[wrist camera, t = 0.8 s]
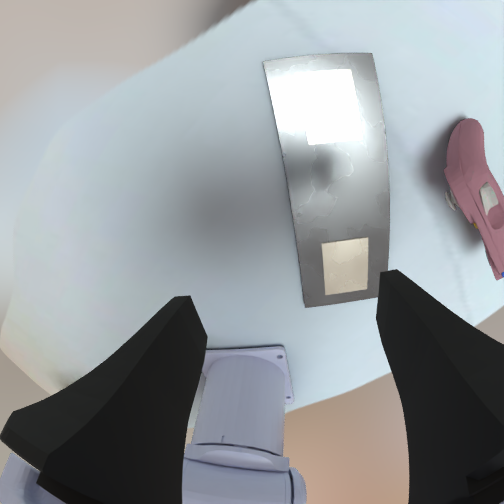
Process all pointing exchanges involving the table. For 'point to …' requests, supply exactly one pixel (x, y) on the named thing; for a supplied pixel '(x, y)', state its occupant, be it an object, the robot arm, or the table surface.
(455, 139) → the video game controller
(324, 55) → the label panel
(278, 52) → the table surface
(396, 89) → the table surface
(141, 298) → the table surface
